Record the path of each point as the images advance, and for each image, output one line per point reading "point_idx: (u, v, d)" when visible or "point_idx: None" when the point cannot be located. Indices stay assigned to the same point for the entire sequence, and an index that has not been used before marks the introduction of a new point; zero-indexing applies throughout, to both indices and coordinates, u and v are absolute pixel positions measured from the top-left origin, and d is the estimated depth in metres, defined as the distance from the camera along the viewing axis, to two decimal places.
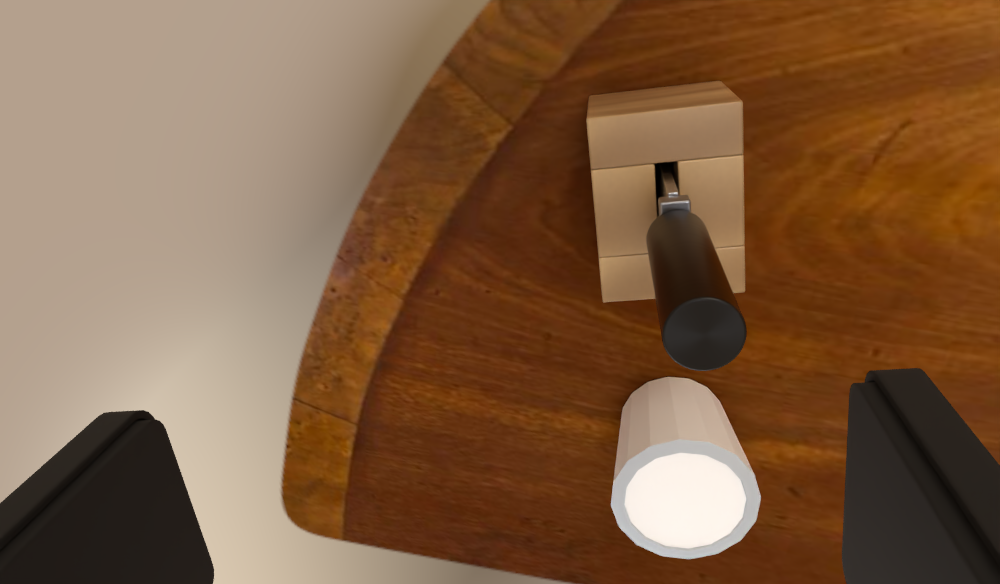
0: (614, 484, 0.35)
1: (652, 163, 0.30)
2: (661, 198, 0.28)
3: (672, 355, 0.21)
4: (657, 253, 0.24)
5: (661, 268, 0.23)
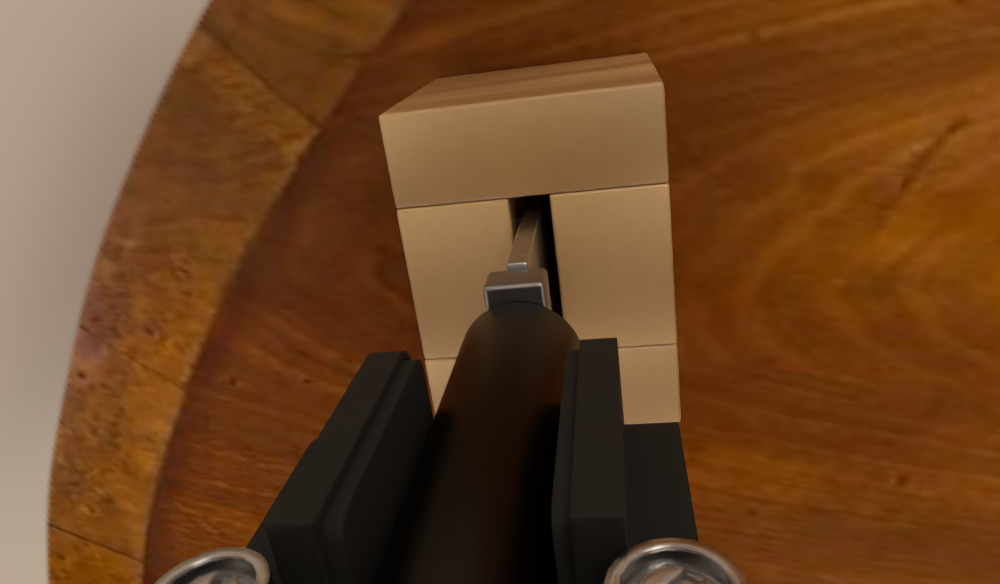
0: None
1: (504, 198, 0.17)
2: (491, 275, 0.14)
3: None
4: (433, 425, 0.11)
5: (411, 487, 0.09)
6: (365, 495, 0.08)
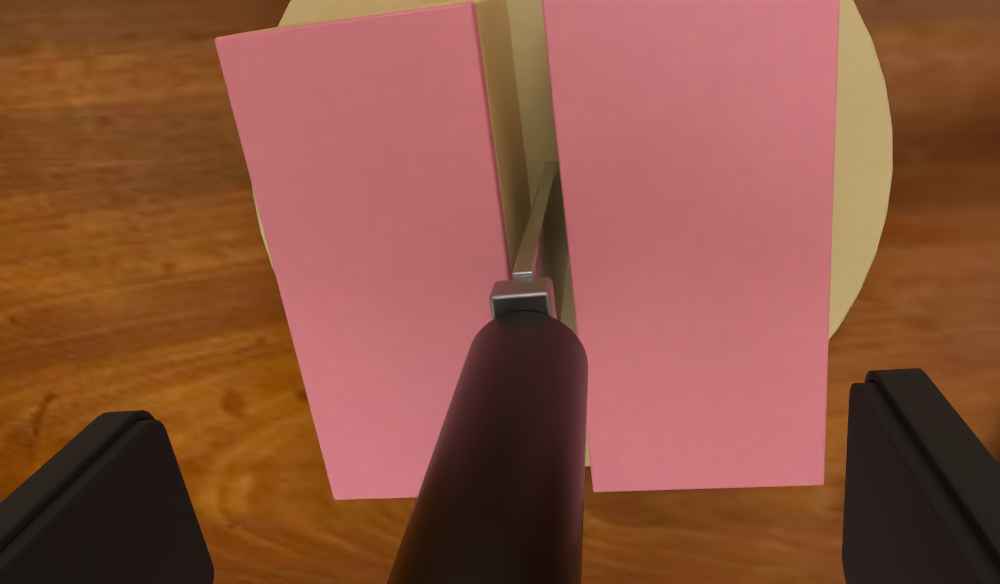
0: None
1: None
2: (497, 284, 0.14)
3: None
4: (441, 434, 0.11)
5: (420, 496, 0.09)
6: None
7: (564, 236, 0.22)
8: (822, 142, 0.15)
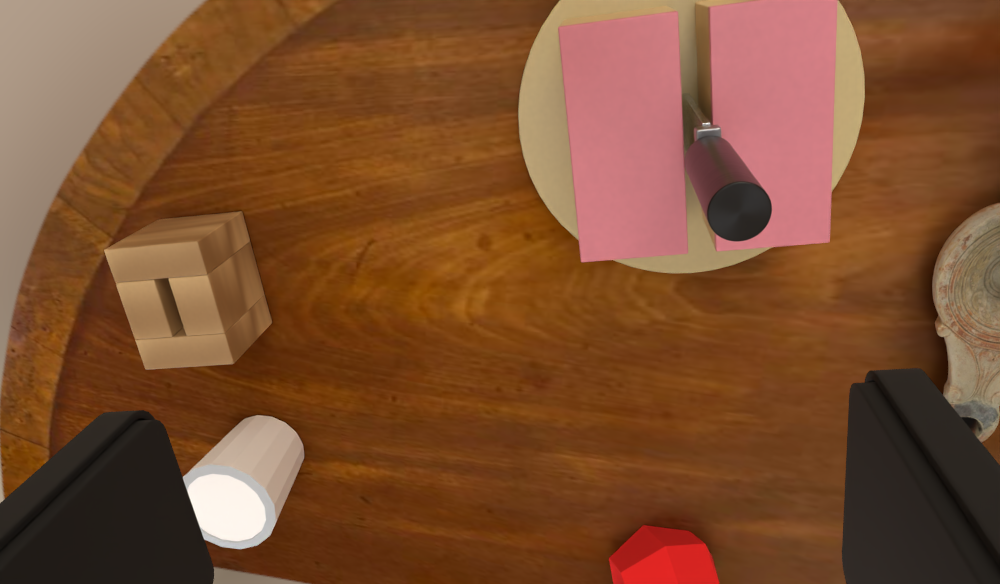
0: None
1: (153, 279, 0.45)
2: (697, 127, 0.34)
3: (714, 229, 0.27)
4: (697, 164, 0.31)
5: (702, 171, 0.29)
6: None
7: None
8: (829, 72, 0.35)
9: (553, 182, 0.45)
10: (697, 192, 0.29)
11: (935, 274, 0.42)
